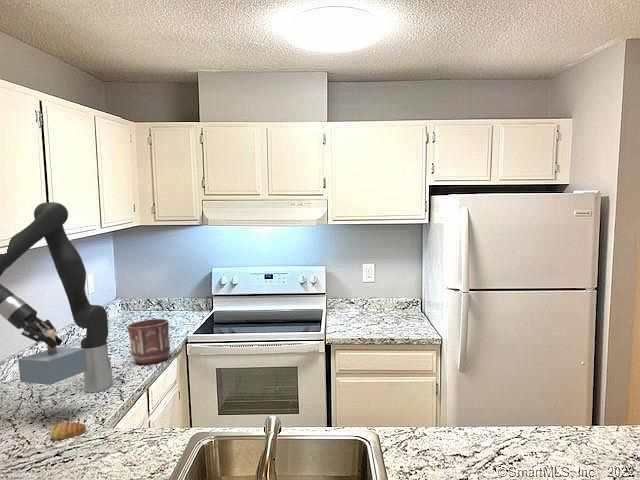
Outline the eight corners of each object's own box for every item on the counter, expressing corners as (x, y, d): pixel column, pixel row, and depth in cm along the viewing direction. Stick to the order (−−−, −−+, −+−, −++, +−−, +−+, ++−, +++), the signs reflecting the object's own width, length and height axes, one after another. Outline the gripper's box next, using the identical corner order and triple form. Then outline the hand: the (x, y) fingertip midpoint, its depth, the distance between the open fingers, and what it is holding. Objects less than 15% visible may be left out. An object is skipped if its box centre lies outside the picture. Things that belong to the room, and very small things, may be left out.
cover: (58, 368, 165) (54, 324, 165) (87, 370, 160) (83, 325, 159) (20, 382, 152) (15, 334, 152) (50, 385, 147) (45, 336, 146)
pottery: (154, 353, 230) (151, 317, 229) (179, 356, 221) (175, 319, 220) (123, 365, 215) (119, 326, 214) (148, 368, 206) (144, 328, 205)
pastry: (88, 427, 148) (87, 415, 147) (83, 436, 141) (82, 424, 141) (55, 433, 145) (54, 421, 145) (48, 443, 139) (47, 430, 138)
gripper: (11, 307, 148) (54, 342, 149) (36, 299, 162) (75, 331, 163) (-5, 325, 148) (39, 359, 149) (22, 316, 162) (61, 347, 163)
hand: (57, 344), depth 156 cm, fingers closed on cover, 2 cm apart
